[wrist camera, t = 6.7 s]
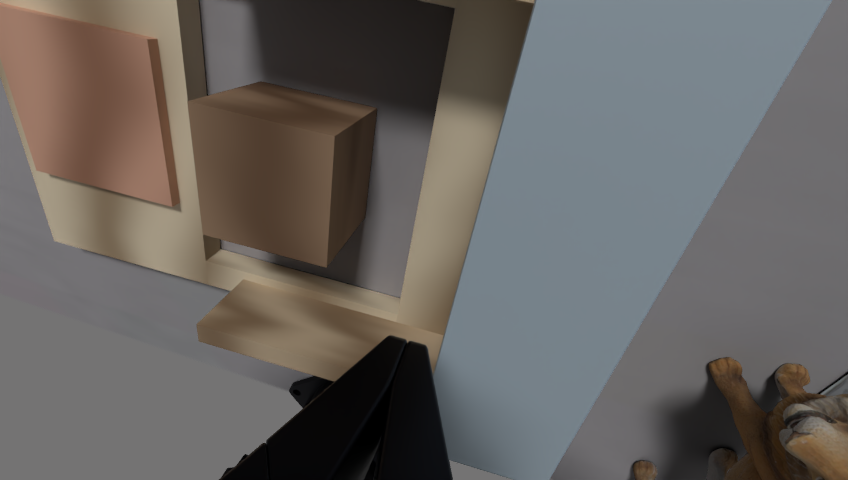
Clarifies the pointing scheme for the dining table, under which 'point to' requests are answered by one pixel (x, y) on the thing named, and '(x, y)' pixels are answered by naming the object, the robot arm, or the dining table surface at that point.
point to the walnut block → (282, 169)
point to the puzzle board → (176, 179)
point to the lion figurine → (777, 431)
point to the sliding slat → (596, 204)
